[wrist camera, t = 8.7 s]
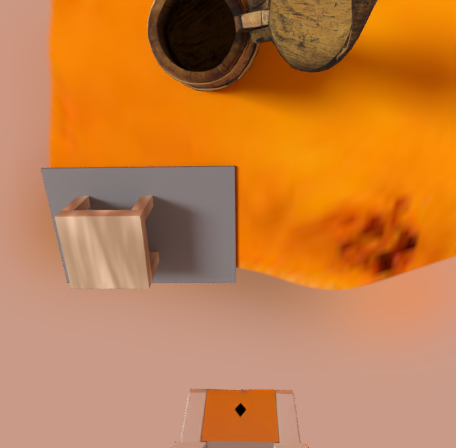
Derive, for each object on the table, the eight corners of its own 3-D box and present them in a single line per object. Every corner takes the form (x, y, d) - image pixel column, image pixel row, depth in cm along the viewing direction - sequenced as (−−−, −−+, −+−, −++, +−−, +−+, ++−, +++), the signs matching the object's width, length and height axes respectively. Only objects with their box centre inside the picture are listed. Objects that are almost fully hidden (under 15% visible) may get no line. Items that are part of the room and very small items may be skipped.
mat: (234, 165, 38) (234, 166, 38) (235, 281, 44) (235, 282, 44) (42, 168, 39) (40, 168, 39) (68, 281, 45) (67, 283, 45)
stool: (140, 215, 35) (54, 216, 35) (149, 288, 38) (71, 288, 38) (152, 195, 40) (77, 195, 40) (159, 260, 43) (90, 261, 43)
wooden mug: (311, 78, 35) (376, 103, 18) (167, 95, 36) (109, 133, 19) (308, -36, 31) (387, -131, 15) (149, -14, 32) (57, -80, 16)
